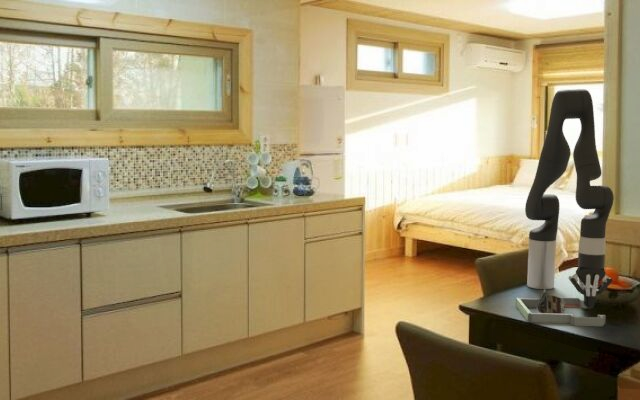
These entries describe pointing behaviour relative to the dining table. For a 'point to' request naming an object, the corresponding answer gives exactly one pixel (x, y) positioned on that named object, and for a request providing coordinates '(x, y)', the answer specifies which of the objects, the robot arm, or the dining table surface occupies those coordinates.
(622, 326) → the dining table surface
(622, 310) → the dining table surface
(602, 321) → the track
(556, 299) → the marbled cake slice
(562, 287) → the dining table surface
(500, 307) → the dining table surface
